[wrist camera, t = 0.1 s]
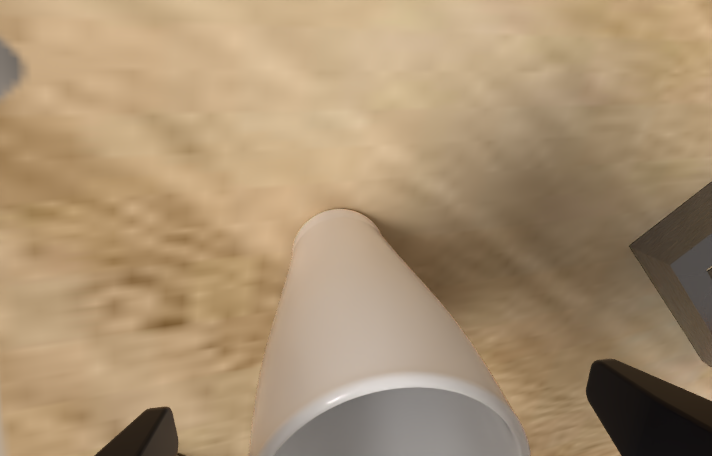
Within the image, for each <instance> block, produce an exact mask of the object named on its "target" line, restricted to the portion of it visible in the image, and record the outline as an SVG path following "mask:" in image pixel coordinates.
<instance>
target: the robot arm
mask: <svg viewBox="0 0 712 456" xmlns="http://www.w3.org/2000/svg"><path fill="white" fill-rule="evenodd" d="M586 395H587V398H588V401H589V403H590V404H591V406H592V408H593V409H594V411H595V413H596V414H597V416H598V418H599V419H600V421H601V423H602V424H603V426H604V428H605V429H606V431H607V432H608V434H609V436H610V437H611V439H612V441H613V442H614V444H615V446H616V447H617V449H618V451H619V452H620V454H621V456H712V401H710V400H707V399H705V398H703V397H701V396H698V395H696V394H694V393H691V392H689V391H687V390H684V389H682V388H680V387H677V386H675V385H673V384H670V383H668V382H666V381H664V380H661V379H659V378H657V377H654V376H652V375H650V374H647V373H645V372H643V371H640V370H638V369H636V368H633V367H631V366H629V365H627V364H624V363H622V362H620V361H617V360H615V359H603V360H596V361H594V362H593V363H592V365H591V369H590V373H589V378H588V383H587V387H586ZM177 451H178V436H177V431H176V427H175V422H174V418H173V414H172V411H171V409H170V408H169V407H158V408H150V409H147V410H145V411H144V412H143V413H142V414H141V415H140V416H138V417H137V418H136V419H135V420H134V421H133V422H132V423H131V424H129V425H128V426H127V427H126V428H125V429H124V430H123V431H122V432H120V433H119V434H118V435H117V436H116V437H115V438H114V439H113V440H111V441H110V442H109V443H108V444H107V445H106V446H105V447H104V448H102V449H101V450H100V451H99V452H98V453H97V454H96V455H95V456H177Z"/></svg>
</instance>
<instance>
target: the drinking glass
mask: <svg viewBox="0 0 712 456" xmlns="http://www.w3.org/2000/svg"><path fill="white" fill-rule="evenodd" d="M249 456H531V455H530V447H529V443H528V439H527V436H526V433H525V430H524V428H523V426H522V424H521V422H520V420H519V418H518V417H517V415H516V414H515V412H514V411H513V409H512V407H511V406H510V404H509V402H508V401H507V399H506V397H505V395H504V394H503V392H502V390H501V389H500V387H499V385H498V383H497V382H496V380H495V378H494V377H493V375H492V374H491V372H490V370H489V369H488V367H487V365H486V364H485V362H484V361H483V359H482V358H481V356H480V355H479V353H478V352H477V350H476V349H475V347H474V346H473V344H472V343H471V341H470V340H469V338H468V337H467V336H466V334H465V333H464V331H463V330H462V329H461V327H460V326H459V324H458V323H457V322H456V320H455V319H454V318H453V316H452V315H451V314H450V313H449V311H448V310H447V309H446V308H445V306H444V305H443V304H442V303H441V302H440V301H439V299H438V298H437V297H436V296H435V295H434V294H433V293H432V291H431V290H430V289H429V288H428V287H427V286H426V285H425V284H424V283H423V281H422V280H421V279H420V278H419V277H418V276H417V275H416V274H415V273H414V271H413V270H412V269H411V268H410V267H409V266H408V265H407V264H406V263H405V261H404V260H403V259H402V258H401V257H400V256H399V255H398V253H397V252H396V251H395V250H394V249H393V248H392V247H391V245H390V244H389V243H388V242H387V241H386V240H385V238H384V237H383V236H382V234H381V232H380V230H379V229H378V228H377V226H376V225H375V224H374V223H373V222H372V221H371V220H370V219H369V218H367V217H366V216H364V215H363V214H361V213H358V212H356V211H353V210H348V209H332V210H327V211H324V212H321V213H319V214H317V215H315V216H313V217H312V218H311V219H309V220H308V221H307V222H306V223H305V224H304V225H303V226H302V227H301V229H300V230H299V232H298V233H297V235H296V237H295V240H294V243H293V247H292V255H291V261H290V265H289V269H288V272H287V276H286V279H285V283H284V286H283V290H282V293H281V296H280V300H279V303H278V306H277V310H276V313H275V317H274V320H273V323H272V327H271V330H270V334H269V337H268V341H267V344H266V348H265V353H264V357H263V361H262V365H261V370H260V374H259V379H258V385H257V391H256V397H255V404H254V411H253V419H252V427H251V436H250V445H249Z"/></svg>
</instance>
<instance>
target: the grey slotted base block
mask: <svg viewBox="0 0 712 456" xmlns="http://www.w3.org/2000/svg"><path fill="white" fill-rule="evenodd" d="M629 247H630V248H631V250H632V251H633V253H634V254H635V256H636V258H637V259H638V261H639V262H640V264H641V265H642V267H643V269H644V270H645V272H646V273H647V275H648V276H649V278H650V280H651V281H652V283H653V284H654V286H655V287H656V289H657V290H658V292H659V294H660V295H661V297H662V298H663V300H664V301H665V303H666V305H667V306H668V308H669V309H670V311H671V312H672V314H673V316H674V317H675V319H676V320H677V322H678V323H679V325H680V326H681V328H682V330H683V331H684V333H685V334H686V336H687V337H688V339H689V341H690V342H691V344H692V345H693V347H694V348H695V350H696V352H697V353H698V355H699V356H700V358H701V359H702V361H703V362H705V363H706V364H708V365H709V366H711V367H712V269H710V270H709V271H708V272H707V270H706V269H708V268H709V267H710V266H712V182H711V183H710V184H708V185H707V186H706V187H704V188H703V189H702V190H701V191H699V192H698V193H697V194H695V195H694V196H693V197H692V198H690V199H689V200H688V201H686V202H685V203H684V204H683V205H681V206H680V207H679V208H677V209H676V210H675V211H674V212H672V213H671V214H670V215H668V216H667V217H666V218H665V219H663V220H662V221H661V222H659V223H658V224H657V225H656V226H654V227H653V228H652V229H651V230H649V231H648V232H647V233H645V234H644V235H643V236H642V237H640V238H639V239H638V240H636V241H635V242H634V243H633V244H631V245H630V246H629Z"/></svg>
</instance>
